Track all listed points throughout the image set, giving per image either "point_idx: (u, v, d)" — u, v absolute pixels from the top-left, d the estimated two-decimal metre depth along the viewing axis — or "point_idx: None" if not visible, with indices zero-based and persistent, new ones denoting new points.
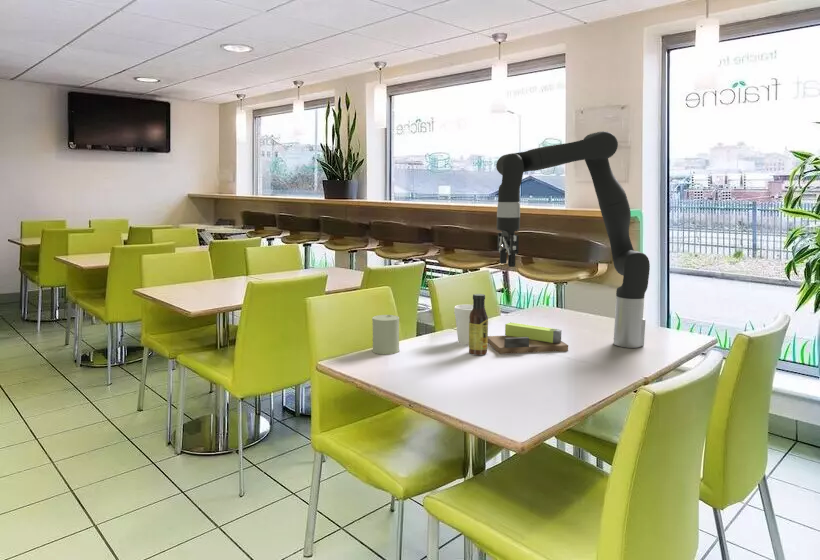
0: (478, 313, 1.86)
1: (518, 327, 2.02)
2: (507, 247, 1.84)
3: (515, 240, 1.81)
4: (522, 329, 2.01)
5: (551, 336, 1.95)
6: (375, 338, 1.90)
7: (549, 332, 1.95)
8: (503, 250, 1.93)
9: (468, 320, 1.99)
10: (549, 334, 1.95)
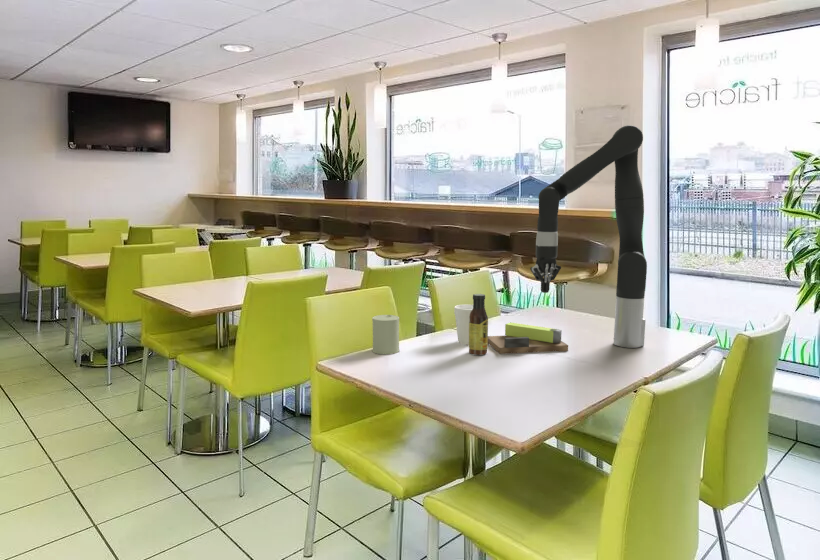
0: (478, 313, 1.86)
1: (518, 327, 2.02)
2: (551, 275, 2.03)
3: None
4: (522, 329, 2.01)
5: (551, 336, 1.95)
6: (375, 338, 1.90)
7: (549, 332, 1.95)
8: None
9: (468, 320, 1.99)
10: (549, 334, 1.95)
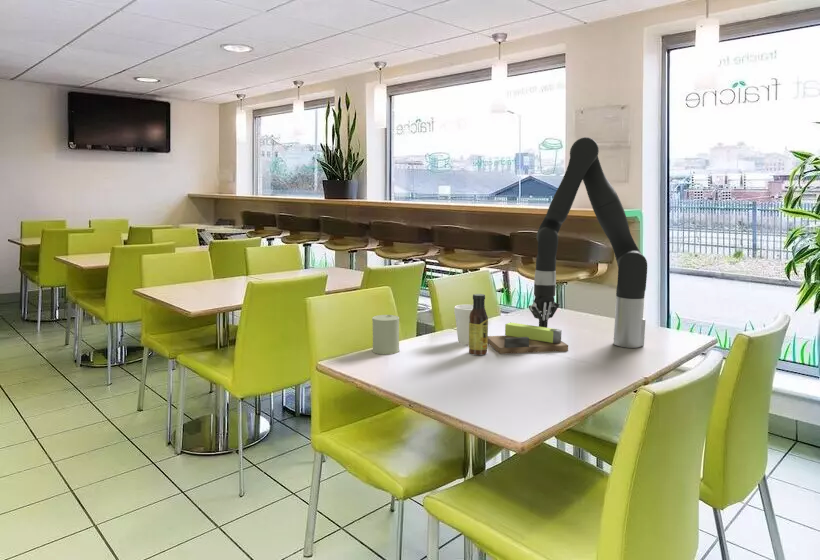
0: (478, 313, 1.86)
1: (518, 327, 2.02)
2: (549, 313, 2.05)
3: None
4: (522, 329, 2.01)
5: (551, 336, 1.95)
6: (375, 338, 1.90)
7: (549, 332, 1.95)
8: None
9: (468, 320, 1.99)
10: (549, 334, 1.95)
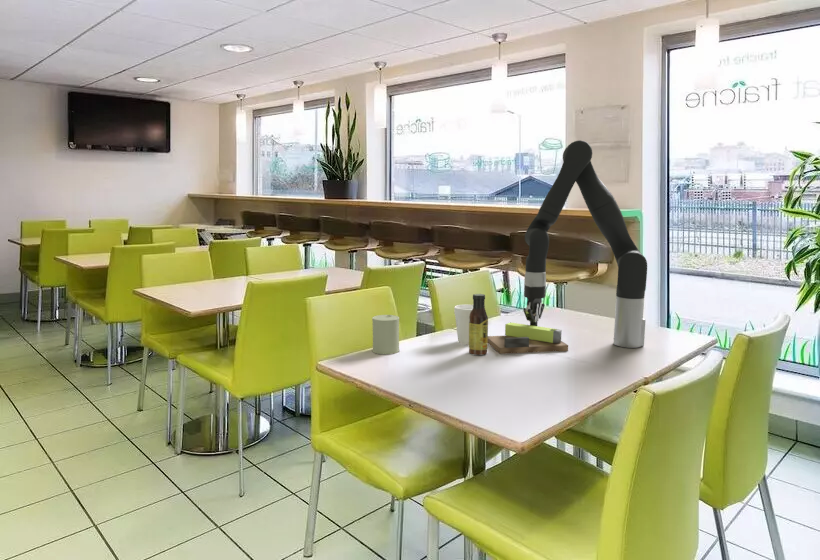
0: (478, 313, 1.86)
1: (518, 327, 2.02)
2: (539, 314, 2.05)
3: None
4: (522, 329, 2.01)
5: (551, 336, 1.95)
6: (375, 338, 1.90)
7: (549, 332, 1.95)
8: None
9: (468, 320, 1.99)
10: (549, 334, 1.95)
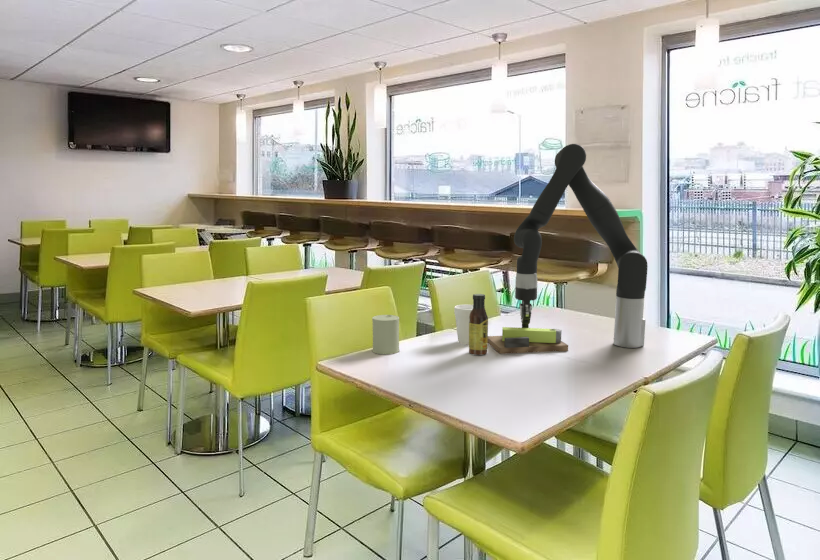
0: (478, 313, 1.86)
1: (517, 331, 1.96)
2: None
3: None
4: (522, 333, 1.96)
5: (554, 336, 1.94)
6: (375, 338, 1.90)
7: (551, 333, 1.94)
8: None
9: (468, 320, 1.99)
10: (551, 335, 1.94)
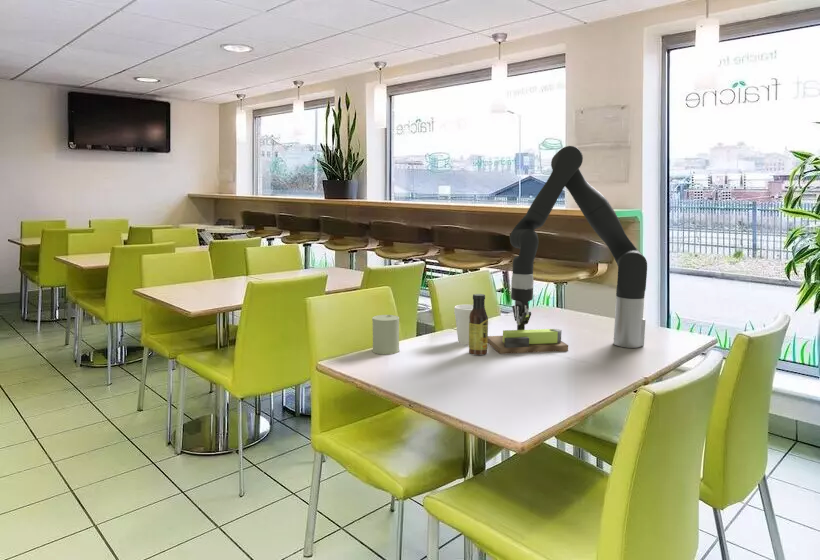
0: (478, 313, 1.86)
1: (521, 334, 1.92)
2: None
3: None
4: (525, 335, 1.93)
5: (556, 336, 1.94)
6: (375, 338, 1.90)
7: (553, 333, 1.94)
8: None
9: (468, 320, 1.99)
10: (553, 335, 1.94)
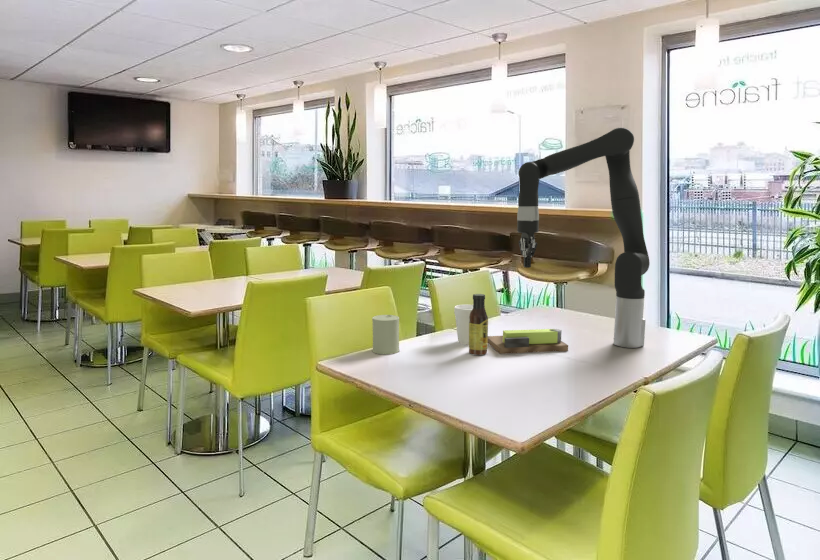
0: (478, 313, 1.86)
1: (521, 334, 1.92)
2: None
3: None
4: (525, 335, 1.93)
5: (556, 336, 1.94)
6: (375, 338, 1.90)
7: (553, 333, 1.94)
8: None
9: (468, 320, 1.99)
10: (553, 335, 1.94)
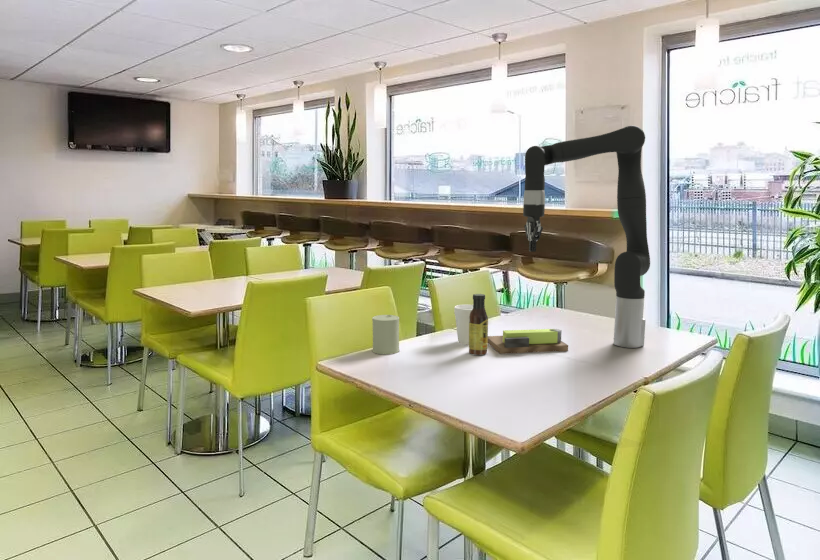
0: (478, 313, 1.86)
1: (521, 334, 1.92)
2: None
3: None
4: (525, 335, 1.93)
5: (556, 336, 1.94)
6: (375, 338, 1.90)
7: (553, 333, 1.94)
8: None
9: (468, 320, 1.99)
10: (553, 335, 1.94)
